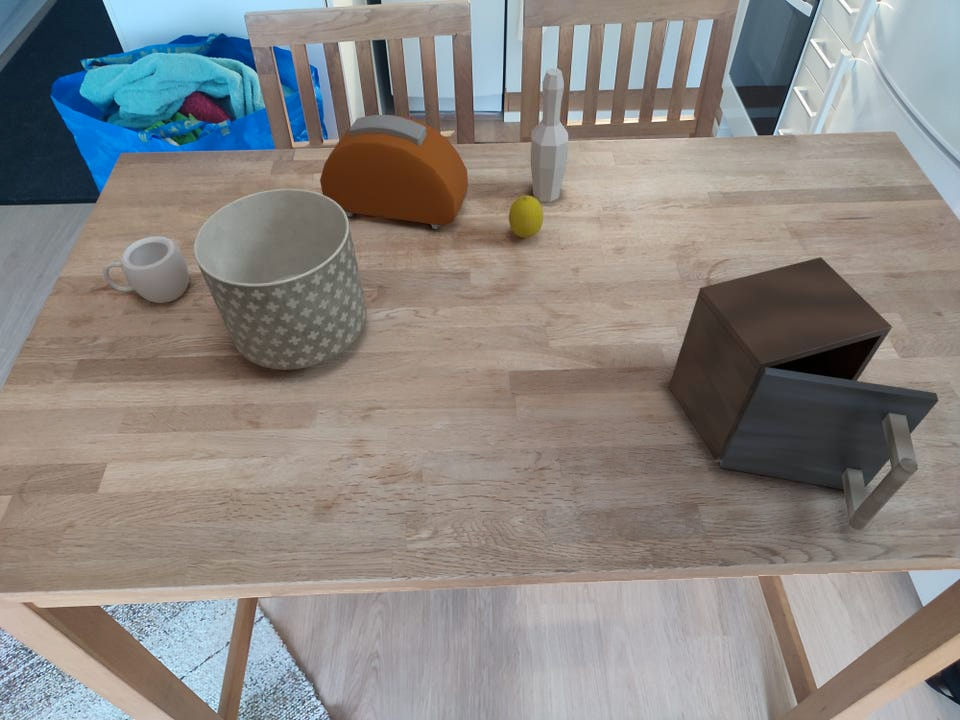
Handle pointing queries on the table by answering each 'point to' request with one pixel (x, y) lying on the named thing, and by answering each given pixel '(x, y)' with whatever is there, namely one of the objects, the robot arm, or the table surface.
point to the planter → (283, 277)
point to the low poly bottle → (549, 141)
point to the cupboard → (769, 340)
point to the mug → (152, 269)
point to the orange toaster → (396, 171)
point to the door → (830, 435)
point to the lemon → (526, 216)
